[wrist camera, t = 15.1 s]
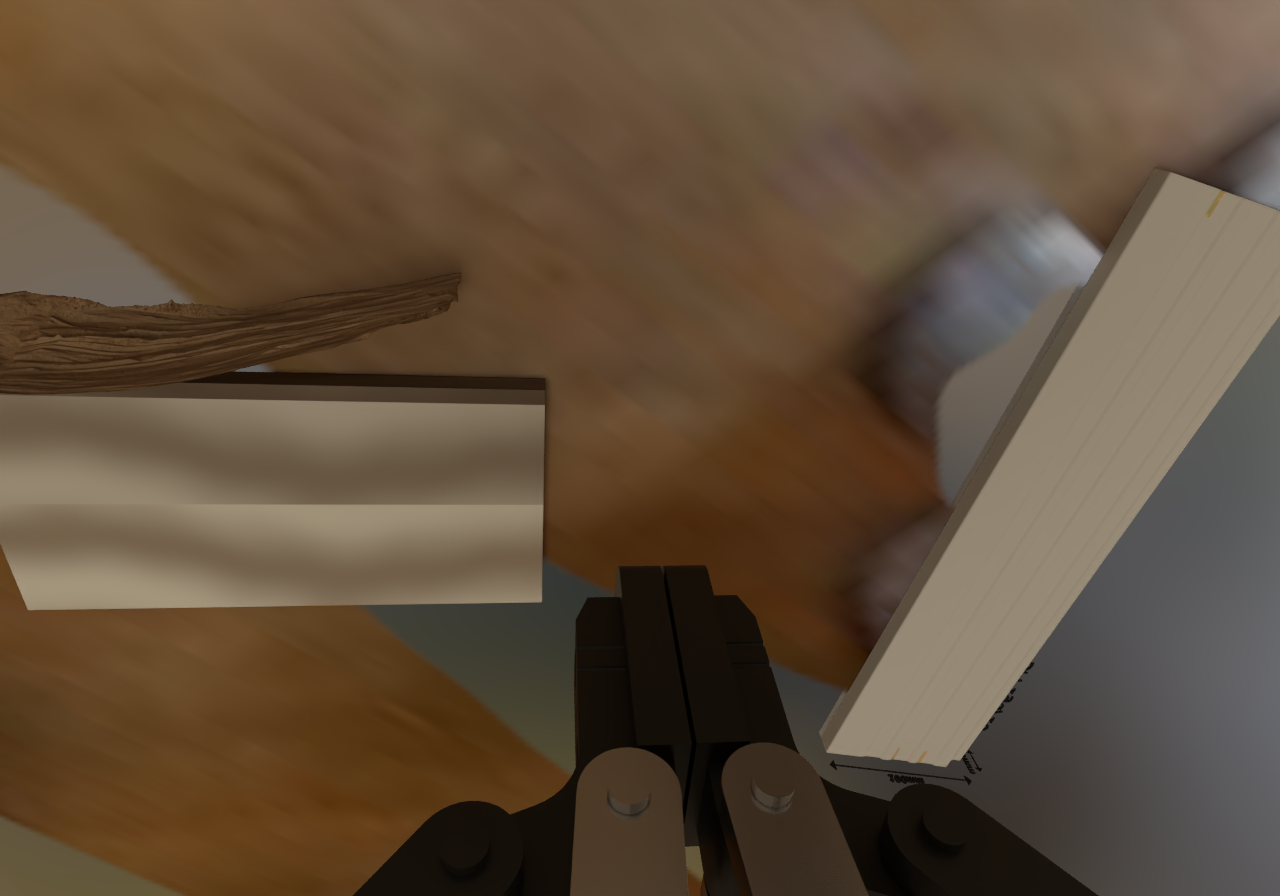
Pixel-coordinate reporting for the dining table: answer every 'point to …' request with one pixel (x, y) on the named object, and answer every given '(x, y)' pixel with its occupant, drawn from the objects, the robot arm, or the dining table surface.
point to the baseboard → (1068, 467)
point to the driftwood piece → (187, 335)
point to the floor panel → (276, 492)
